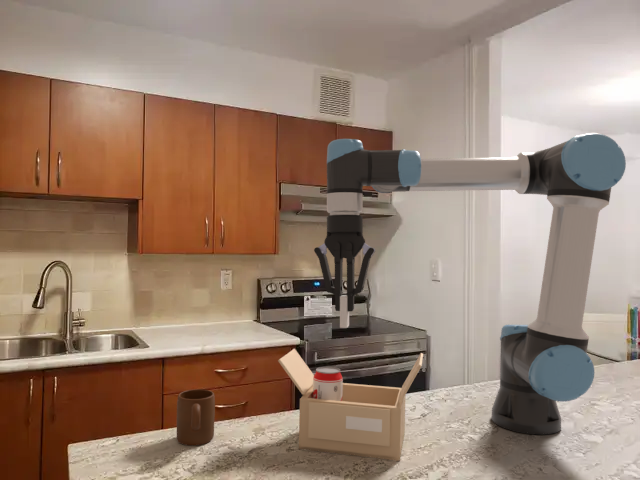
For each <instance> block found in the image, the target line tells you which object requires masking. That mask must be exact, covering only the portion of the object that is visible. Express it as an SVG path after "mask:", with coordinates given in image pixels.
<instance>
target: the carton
mask: <svg viewBox="0 0 640 480" xmlns="http://www.w3.org/2000/svg"><path fill="white" fill-rule="evenodd" d="M401 389H402V387H395V386H382V385H371V384H369V385H368V384H358V383H347V382H343V390H342V401H335V400H324V399H313V385H312V386H311V387H310V388H309V389H308V390H307V391H306V393H305V394H303V395H302V396H301V398H299V425H298V429H299V431H298V432H299V433H298V450H300V451H301V450H303V451H311V452H319V453H327V454H328V453H329V454H337V455H345V456H355V457H361V458H362V457H363V458H369V459H380V460H381V459H382V460H388V461H389V460H390V461H397V462H400V461H401V456H402V452H403V446H404V439H405V431H406V430H405V429H406V395H405V396H404V398H403V400H402V402H401V403H399V402H398V401H399V397H400V393H401Z"/></svg>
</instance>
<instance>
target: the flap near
mask: <svg viewBox="0 0 640 480" xmlns="http://www.w3.org/2000/svg"><path fill="white" fill-rule="evenodd" d="M423 357H424V353H422V352H420V353H419V356H418V357H417V359H416V361H415V362H414V365H413V367H412V369H411V370H410V372H409V373H408V376H407V377H406V379H405V381H404V382H403V384H402V386H401V388H402V389H401V393H400V397H399V401H398V402H399V403H401V402H402V400H403V398H404V396H405V397H406V394H407V392H408V391H409V389H410V388H411V386H412V383H413V382H414V380H415V378H416V377H417V375H418V373H419V371H420V370H421V367H422V366H423V359H424V358H423Z"/></svg>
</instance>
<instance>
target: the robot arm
mask: <svg viewBox="0 0 640 480" xmlns="http://www.w3.org/2000/svg"><path fill="white" fill-rule="evenodd" d="M363 145H364V144H363V142H362V141H361V140H359V139H356V138H338V139H334V140H332V141H330V142H329V143H328V145H327V151H326V152H327V154H326V212H327V213H328V215H327V217H326V237H325V238H324V243H322V244H321V245H320V246H317V247H315V248H314V249H313V251H314V253H315V255H316V256H317V258H318V260H319V265H320V271H321V274H322V277H323V282H324V283H323V284H324V286H325V291H326V292H327V293H329V294H332V295H334V309H335V311H336V312H339V328H340V329H347V328H349V327H350V312H353V311H354V309H355V296H356V295H358V294H360V293H362V292H363V291H364V287H365V283H366V280H367V279H366V278H367V274H368V271H369V265H370V263H371V258H372V257H373V256H374V254H375V252H376V248H375V247H372V246H370V245H369V244H367V243H366V239H365V238H364V235H363V232H364V229H363V226H364V225H363V223H364V220H363V216H362V215H361V214H362V213H363V206H364V204H363V203H364V202H363V197H364V195H363V193H364V190H363V188H364V187H365V186H366V187H372V188H373V190H375V191H376V192H378V193H381V194H390V193H393V192H400V193H402V192H404V193H405V192H435V191H436V192H442V191H443V192H445V191H446V192H447V191H448V192H449V191H452V192H453V191H454V192H455V191H513V190H514V191H515V192H516V193H517V194H519V195H540V196H541V195H543V196H546V200H547V201H548V202H549V203H550V205H551V207H552V213H551V222H550V227H549V233H548V234H549V235H548V239H547V240H548V241H547V246H546V247H547V249H546V255H545V263H544V269H543V274H542V275H543V276H542V281H541V290H540V296H539V302H538V308H537V309H538V310H537V316H536V319H535V320H534V321H532V322H531V323H529V324H505V325H503V326H502V328H501V332H500V337H499V340H500V361H499V362H500V364H499V367H500V371H499V372H500V373H499V375H500V376H499V387H498V388H499V389H498V391H497V394H496V397H495V399H494V401H493V404H492V407H491V421H492V422H493V423H494V424H496V425H497V426H499V427H501V428H503V429H506V430H509V431H512V432H515V433H516V432H517V433H520V434H521V433H522V434H527V435H528V434H530V435H551V434H552V435H553V434H556V433H558V432H560V431H561V430H562V417H561V414H560V410H559V408H558V405H557V402H560V403H562V402H571V401H573V400H577V399H578V398H580V397H582V396H583V395H585V394H586V393H587V392H588V390H589V389H590V388H591V386H592V384H593V381H594V378H595V373H596V372H595V366H594V363H593V360H592V359H591V358H590V356H589V354H588V353H587V352H588V346H589V338H590V337H589V335H588V334H587V333H586V331H585V330H584V328H583V322H584V314H585V307H586V301H587V294H588V288H589V281H590V277H591V275H590V274H591V267H592V263H593V262H592V261H593V254H594V247H595V240H596V236H597V235H596V234H597V228H598V220H599V214H600V212H601V210H603V209H604V208H606V207H607V206H608V205H610V199H611V193H612V187H614V186H616V185H617V184H618V183H619V182H620V181H621V179H622V178H623V176H624V174H625V173H626V164H627V163H626V157H625V153H624V151H623V149H622V148H621V146H619V144H618V143H617V142H616V140H614V139H613V138H611V137H610V136H607V135H605V134H603V133H602V134H601V133H597V132H589V133H584V134H579V135H575V136H573V137H571V138H570V139H568V140H566V141H564V142H561V143H558V144H555V145H554V146H551V147H547V148H545V149H541V150H537V151H531V152H526V151H525V152H520V153H518V154H517V155H516V156H511V157H509V156H508V157H507V156H505V157H504V156H503V157H502V156H501V157H455V158H451V157H450V158H448V157H447V158H422V157H421V154H420V153H419V151H417V150H414V149H410V150H409V149H404V148H403V149H391V150H390V149H385V150H384V149H382V150H376V149H375V150H374V149H373V150H372V149H371V150H370V149H369V150H368V149H364V146H363ZM327 250H328V251H329V253H330V255H332V257H334V259H333V261H334V282H333V277H332V274H331V270H330V266H329V265H330V264H329V261H328V257H327V253H328V251H327ZM361 250H362V254H363V258H362V260H361V261H362V262H361V266H360V269H359V274H358V279H357V281H356V287H355V263H356V257H357V256H358V255H359V253H360V252H361ZM344 259H346V294H343V293H344V291H343V263H344Z"/></svg>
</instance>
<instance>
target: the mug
mask: <svg viewBox="0 0 640 480" xmlns="http://www.w3.org/2000/svg"><path fill="white" fill-rule="evenodd" d="M215 401H216V400H215V393H214V392H213V391H212V390H209V389H202V388H201V389H199V388H198V389H197V388H196V389H188V390H184V391H181V392H180V393H179V394H178V395H177V401H176V440H177V442H178V443H179V444H181V445H184V446H188V447H189V446H191V447H193V446H201V445H205V444H208V443H209V442H211V441H212V440H213V439H214V436H215V435H214V434H215V415H216V413H215V409H216V408H215V406H216V405H215V404H216V402H215Z"/></svg>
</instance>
